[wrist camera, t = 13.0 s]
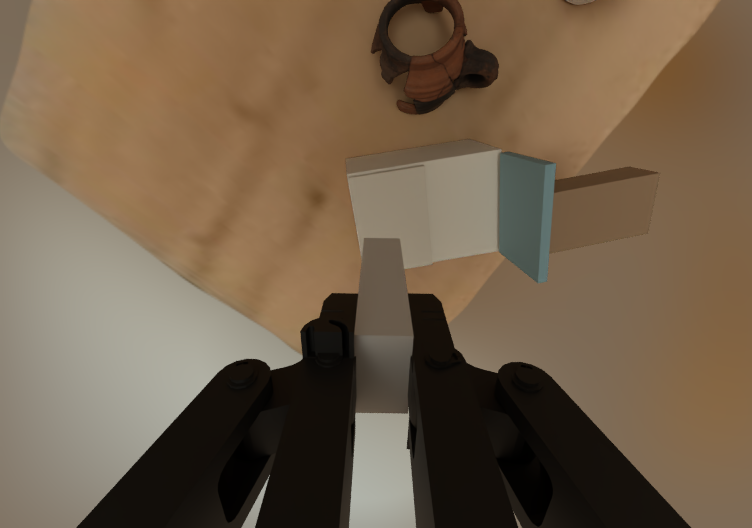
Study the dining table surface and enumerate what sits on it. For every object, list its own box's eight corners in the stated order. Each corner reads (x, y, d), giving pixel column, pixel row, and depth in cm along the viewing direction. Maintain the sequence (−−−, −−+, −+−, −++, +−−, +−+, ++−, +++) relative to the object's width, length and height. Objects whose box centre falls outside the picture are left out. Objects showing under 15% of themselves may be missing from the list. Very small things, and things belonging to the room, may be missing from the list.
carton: (360, 242, 44) (364, 278, 35) (345, 158, 40) (346, 176, 31) (471, 223, 44) (504, 255, 35) (468, 138, 40) (505, 150, 31)
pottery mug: (370, 116, 38) (359, 69, 30) (386, 33, 39) (380, -35, 31) (482, 131, 37) (503, 87, 29) (497, 45, 38) (522, -22, 29)
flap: (538, 283, 29) (646, 260, 30) (545, 165, 25) (671, 142, 26) (499, 252, 35) (590, 233, 36) (499, 153, 31) (603, 134, 32)
